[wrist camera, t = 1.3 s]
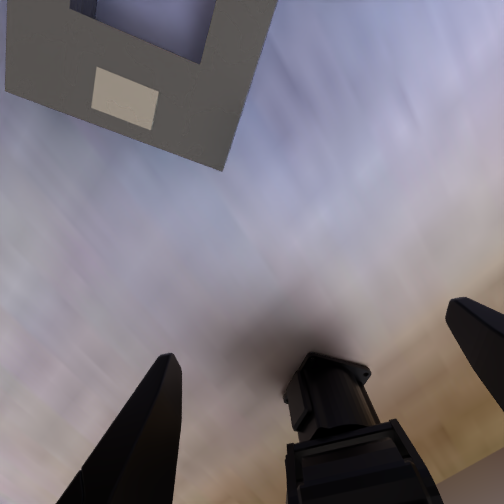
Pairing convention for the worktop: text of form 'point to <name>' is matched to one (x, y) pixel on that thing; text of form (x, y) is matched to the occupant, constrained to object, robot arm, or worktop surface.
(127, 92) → the plate
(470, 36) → the worktop surface
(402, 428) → the robot arm
